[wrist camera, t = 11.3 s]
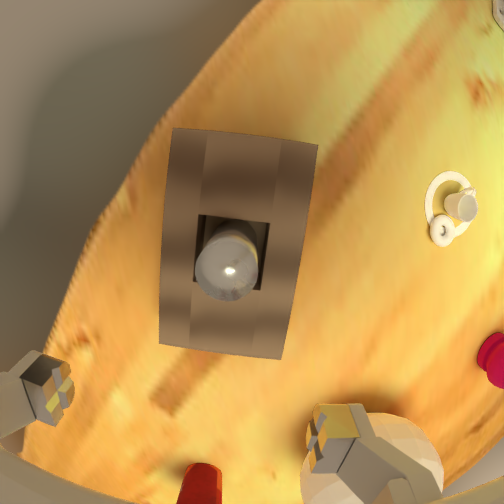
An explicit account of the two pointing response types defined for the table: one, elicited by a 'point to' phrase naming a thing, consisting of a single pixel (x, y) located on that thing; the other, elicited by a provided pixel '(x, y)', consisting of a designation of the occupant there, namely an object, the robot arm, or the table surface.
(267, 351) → the socket block
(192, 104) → the table surface
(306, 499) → the pitcher
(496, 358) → the pepper mill
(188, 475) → the coffee cup
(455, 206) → the teacup and saucer
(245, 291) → the pin
